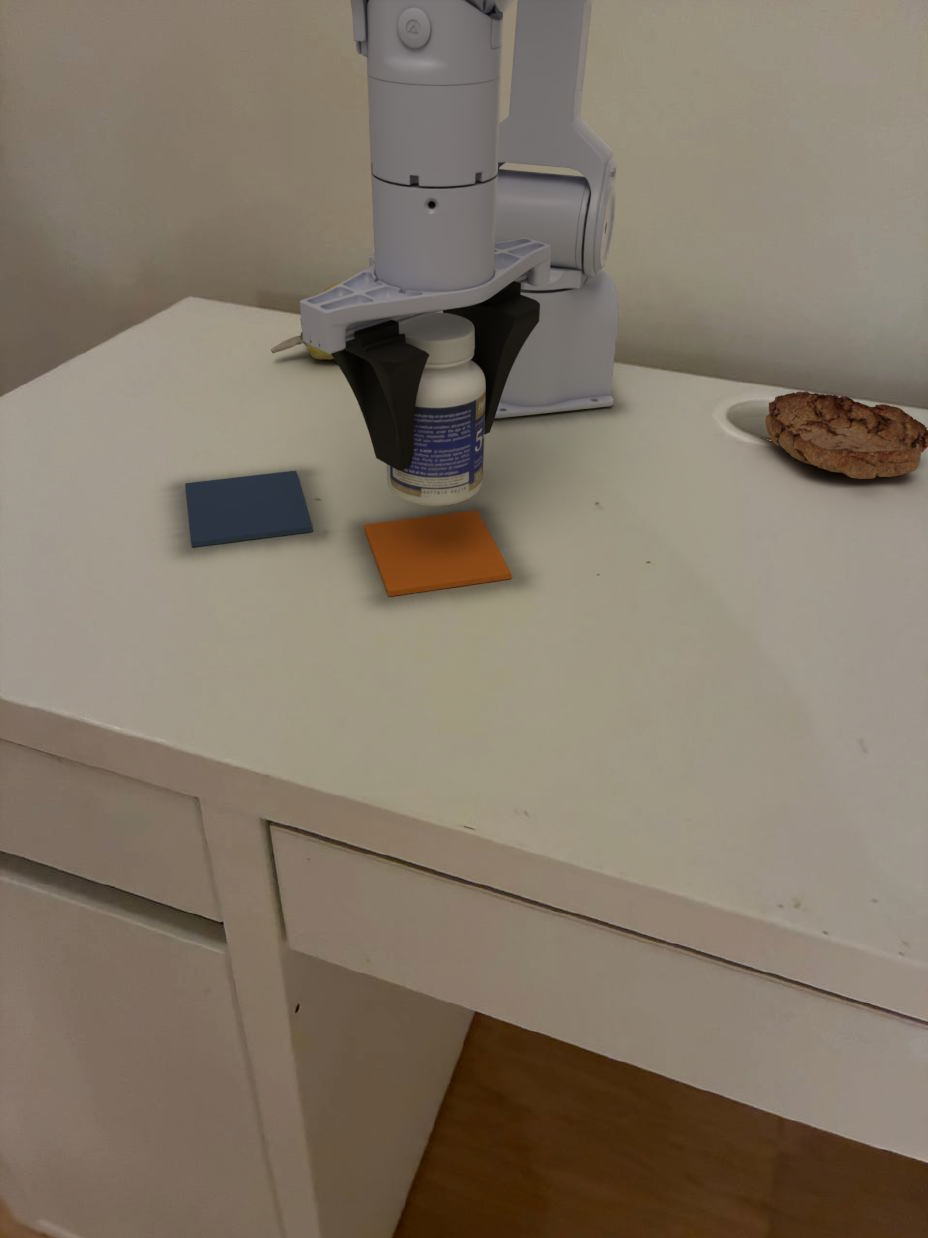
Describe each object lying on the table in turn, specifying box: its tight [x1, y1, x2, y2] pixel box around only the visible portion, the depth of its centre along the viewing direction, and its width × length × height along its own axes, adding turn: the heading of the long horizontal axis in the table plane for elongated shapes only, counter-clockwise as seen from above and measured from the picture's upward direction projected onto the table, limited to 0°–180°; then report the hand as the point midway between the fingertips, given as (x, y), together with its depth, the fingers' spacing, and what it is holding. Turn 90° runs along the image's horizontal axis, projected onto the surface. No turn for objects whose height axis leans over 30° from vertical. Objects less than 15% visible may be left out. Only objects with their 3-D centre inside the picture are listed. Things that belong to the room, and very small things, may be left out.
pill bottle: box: [386, 312, 486, 507], centre depth 52 cm, size 5×5×9 cm
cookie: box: [765, 390, 928, 480], centre depth 67 cm, size 10×11×3 cm
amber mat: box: [363, 509, 512, 597], centre depth 57 cm, size 7×7×1 cm
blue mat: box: [184, 470, 313, 548], centre depth 61 cm, size 7×7×1 cm
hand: (435, 444), depth 53 cm, fingers closed on pill bottle, 5 cm apart
